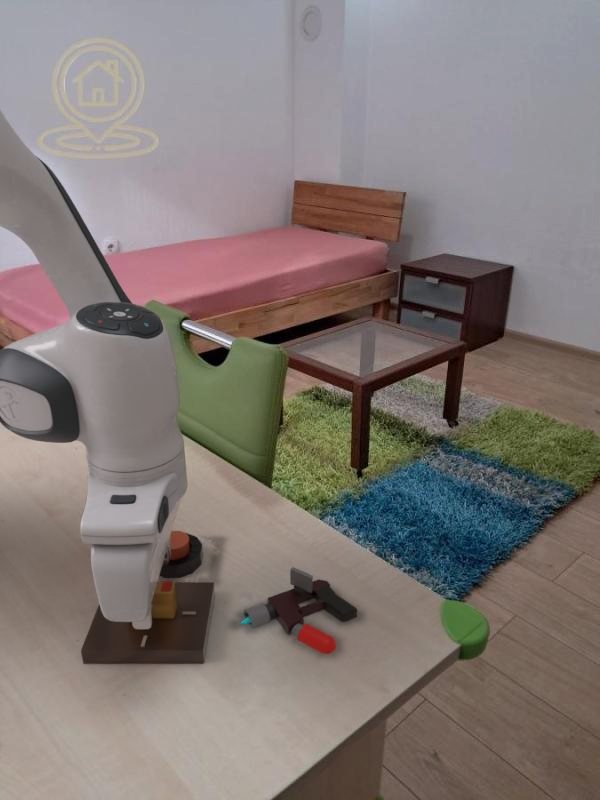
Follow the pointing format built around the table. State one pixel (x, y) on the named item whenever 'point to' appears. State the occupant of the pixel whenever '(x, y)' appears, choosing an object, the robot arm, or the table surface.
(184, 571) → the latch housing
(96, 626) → the plate
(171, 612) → the lock turn
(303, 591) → the toy gun
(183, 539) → the button
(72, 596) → the table surface
